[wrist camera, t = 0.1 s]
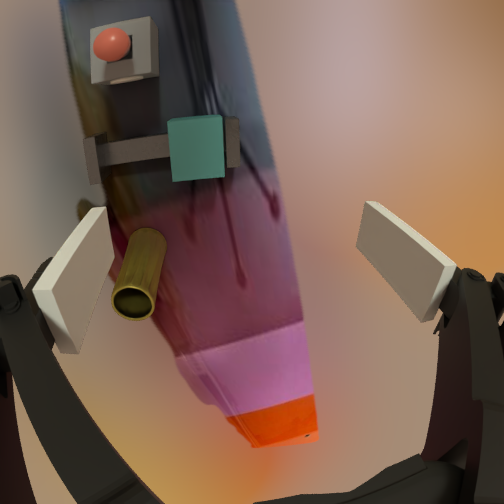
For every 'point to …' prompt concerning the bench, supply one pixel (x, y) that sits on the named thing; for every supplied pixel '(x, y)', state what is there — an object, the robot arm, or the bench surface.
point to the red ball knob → (112, 44)
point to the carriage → (196, 147)
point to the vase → (139, 275)
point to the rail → (147, 149)
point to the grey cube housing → (138, 59)
